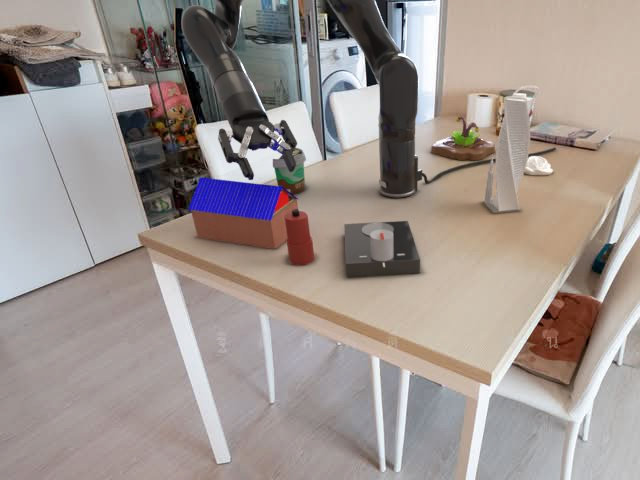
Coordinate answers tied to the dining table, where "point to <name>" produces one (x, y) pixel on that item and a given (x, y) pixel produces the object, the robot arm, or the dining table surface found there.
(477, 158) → the plant
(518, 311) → the dining table surface
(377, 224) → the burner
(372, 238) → the hob knob
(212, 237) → the house
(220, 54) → the robot arm
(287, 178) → the food container
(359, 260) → the hob
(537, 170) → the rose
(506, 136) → the skyscraper
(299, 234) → the red cylindrical canister
